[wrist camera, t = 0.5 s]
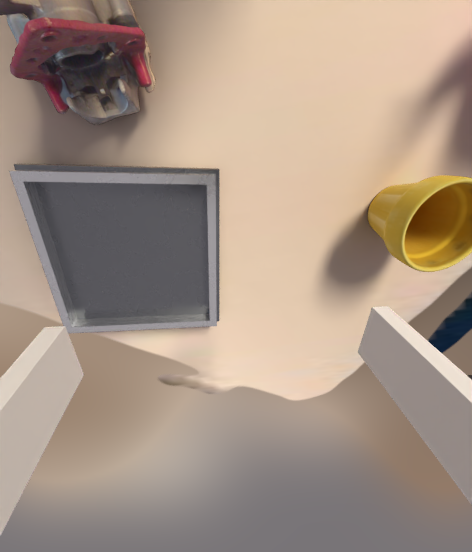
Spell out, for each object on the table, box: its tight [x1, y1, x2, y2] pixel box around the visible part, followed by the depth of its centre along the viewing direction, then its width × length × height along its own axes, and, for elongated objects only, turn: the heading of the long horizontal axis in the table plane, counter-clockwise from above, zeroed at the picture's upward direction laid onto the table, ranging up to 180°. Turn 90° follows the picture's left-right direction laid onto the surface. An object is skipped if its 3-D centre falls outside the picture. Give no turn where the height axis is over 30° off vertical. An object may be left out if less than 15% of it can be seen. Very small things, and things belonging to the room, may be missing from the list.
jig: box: [9, 164, 219, 333], centre depth 33 cm, size 22×22×3 cm
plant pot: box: [368, 176, 472, 272], centre depth 31 cm, size 10×10×10 cm
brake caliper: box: [0, 0, 156, 125], centre depth 21 cm, size 11×11×12 cm
